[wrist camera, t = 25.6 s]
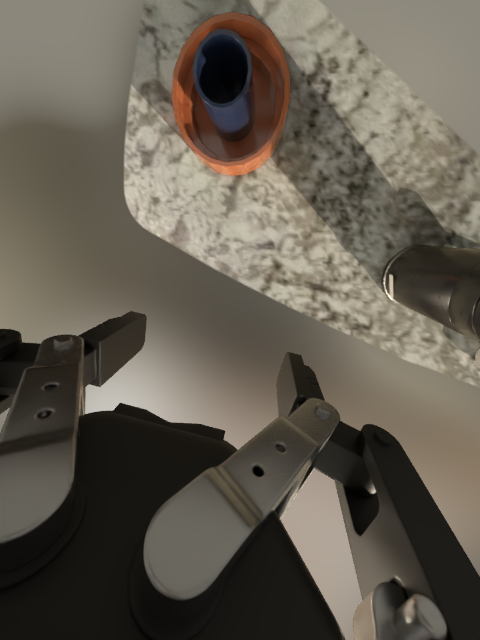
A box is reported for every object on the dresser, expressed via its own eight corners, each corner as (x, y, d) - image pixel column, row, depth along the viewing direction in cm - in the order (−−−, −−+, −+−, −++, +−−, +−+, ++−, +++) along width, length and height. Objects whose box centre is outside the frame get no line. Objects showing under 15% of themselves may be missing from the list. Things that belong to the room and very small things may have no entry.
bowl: (300, 62, 29) (307, 28, 24) (269, 186, 34) (270, 178, 29) (193, 37, 29) (180, -2, 24) (179, 164, 34) (166, 152, 29)
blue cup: (260, 93, 30) (258, 36, 21) (249, 146, 32) (243, 114, 23) (216, 83, 30) (197, 22, 21) (208, 136, 32) (188, 101, 23)
